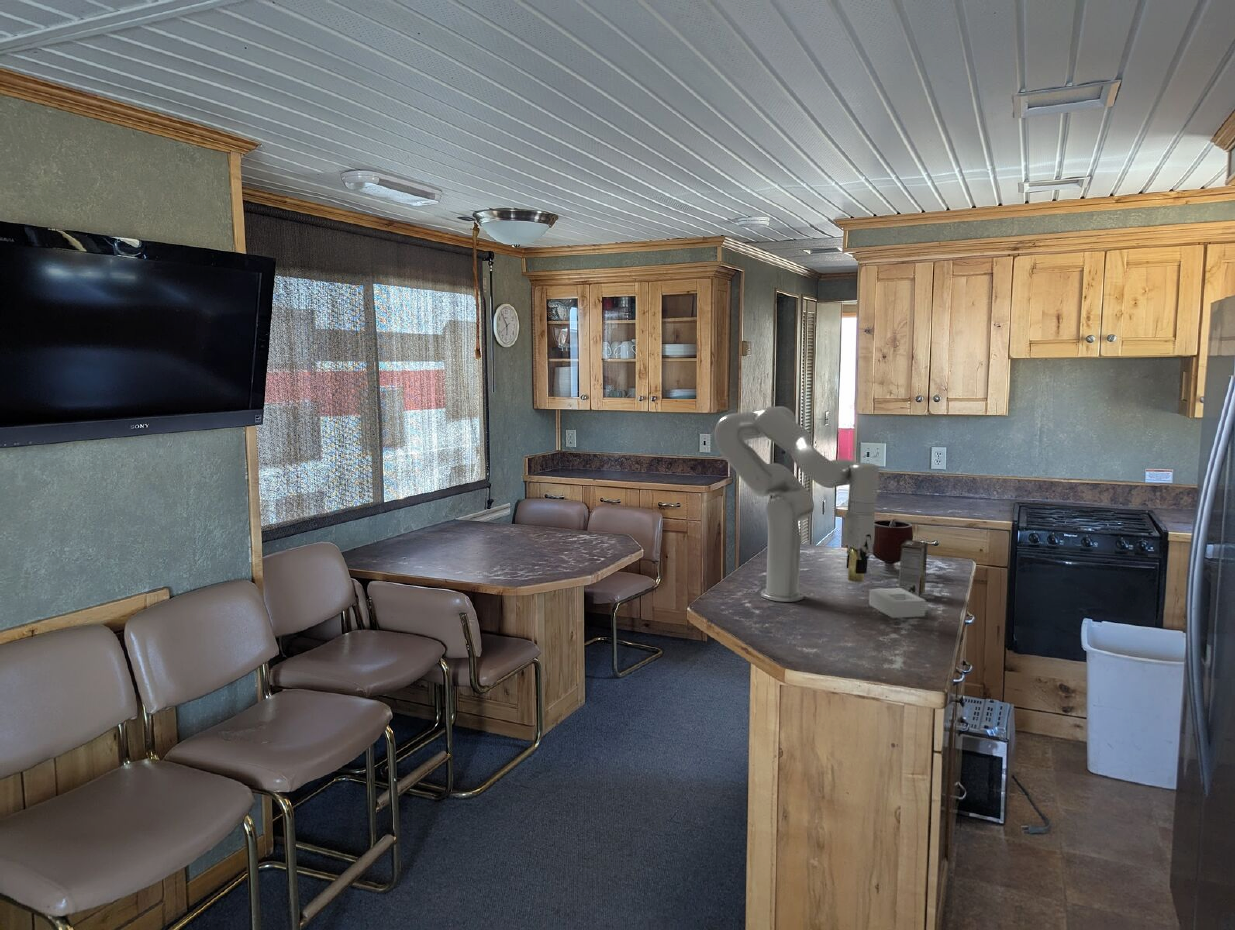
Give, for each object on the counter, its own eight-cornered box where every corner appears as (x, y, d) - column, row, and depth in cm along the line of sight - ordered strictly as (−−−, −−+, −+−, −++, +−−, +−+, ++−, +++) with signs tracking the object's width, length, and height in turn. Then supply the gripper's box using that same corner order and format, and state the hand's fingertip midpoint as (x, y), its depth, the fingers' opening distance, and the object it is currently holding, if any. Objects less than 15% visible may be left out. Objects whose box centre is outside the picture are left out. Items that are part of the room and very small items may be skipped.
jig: (868, 604, 242) (869, 589, 242) (899, 602, 245) (900, 588, 244) (892, 617, 230) (893, 602, 229) (924, 616, 232) (925, 600, 231)
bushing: (844, 577, 236) (847, 546, 235) (858, 577, 237) (861, 546, 236) (852, 582, 232) (854, 550, 231) (866, 581, 233) (869, 550, 232)
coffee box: (903, 590, 259) (906, 539, 257) (925, 593, 255) (928, 542, 253) (897, 597, 251) (900, 544, 249) (919, 600, 248) (922, 547, 246)
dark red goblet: (867, 567, 288) (870, 510, 286) (909, 570, 284) (912, 512, 282) (868, 577, 273) (871, 518, 271) (912, 581, 270) (916, 520, 267)
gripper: (835, 501, 239) (830, 563, 242) (864, 513, 223) (858, 579, 225) (859, 501, 241) (854, 562, 243) (889, 513, 224) (883, 578, 227)
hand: (856, 570), depth 234 cm, fingers closed on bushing, 4 cm apart
